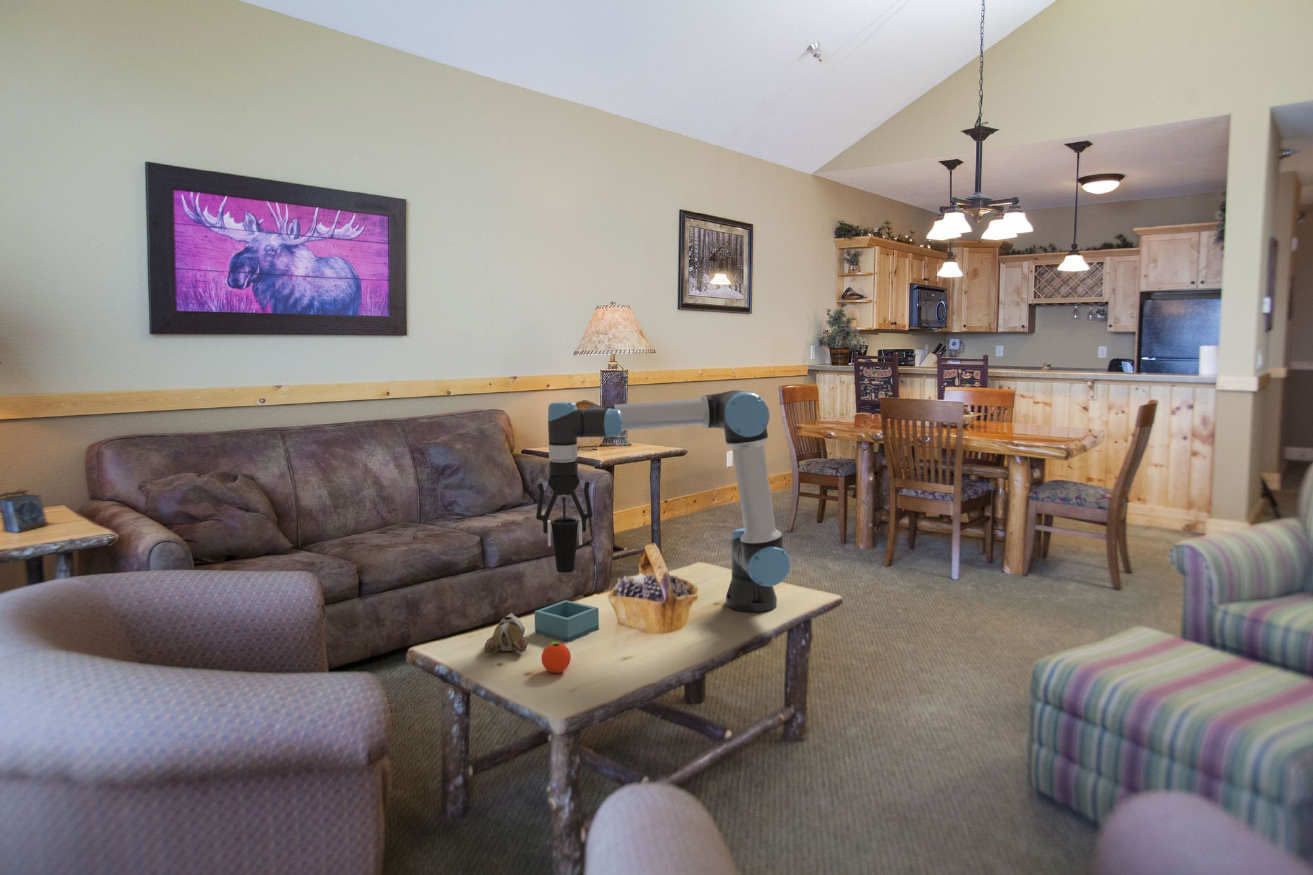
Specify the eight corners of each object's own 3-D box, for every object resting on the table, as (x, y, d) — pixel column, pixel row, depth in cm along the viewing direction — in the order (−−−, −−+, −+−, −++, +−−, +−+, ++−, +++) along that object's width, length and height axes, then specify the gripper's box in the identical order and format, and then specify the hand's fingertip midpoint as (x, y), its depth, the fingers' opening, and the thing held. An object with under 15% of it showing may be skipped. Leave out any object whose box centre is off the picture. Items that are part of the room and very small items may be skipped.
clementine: (537, 667, 194) (536, 638, 193) (564, 662, 197) (564, 634, 196) (546, 679, 187) (545, 649, 186) (575, 674, 190) (574, 645, 189)
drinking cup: (551, 574, 213) (549, 500, 211) (551, 567, 221) (549, 495, 219) (580, 573, 214) (579, 499, 212) (579, 566, 222) (577, 494, 220)
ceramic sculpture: (531, 606, 213) (524, 628, 198) (532, 637, 215) (526, 661, 200) (490, 607, 213) (480, 630, 198) (492, 638, 214) (482, 663, 199)
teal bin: (598, 629, 221) (598, 607, 220) (568, 642, 211) (567, 619, 210) (566, 620, 228) (565, 600, 227) (535, 632, 218) (534, 611, 218)
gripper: (600, 457, 220) (602, 539, 222) (524, 459, 217) (526, 542, 219) (602, 460, 212) (604, 546, 215) (523, 463, 210) (526, 549, 212)
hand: (565, 544), depth 217 cm, fingers closed on drinking cup, 8 cm apart
